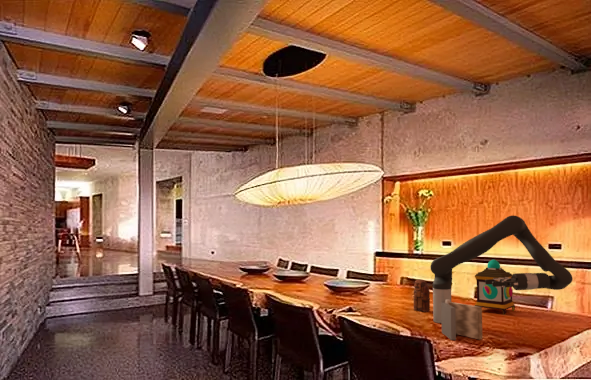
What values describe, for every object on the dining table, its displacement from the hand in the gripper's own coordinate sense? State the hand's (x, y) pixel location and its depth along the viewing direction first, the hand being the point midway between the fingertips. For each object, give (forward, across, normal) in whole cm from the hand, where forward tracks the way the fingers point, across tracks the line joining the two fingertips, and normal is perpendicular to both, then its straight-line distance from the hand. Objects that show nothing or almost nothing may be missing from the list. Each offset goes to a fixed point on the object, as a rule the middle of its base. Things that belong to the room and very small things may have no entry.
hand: (488, 283), depth 215 cm
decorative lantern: (-26, -64, +25) cm, 74 cm away
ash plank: (+12, -2, +23) cm, 26 cm away
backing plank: (+18, -4, +23) cm, 30 cm away
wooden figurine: (+17, -64, +23) cm, 70 cm away
